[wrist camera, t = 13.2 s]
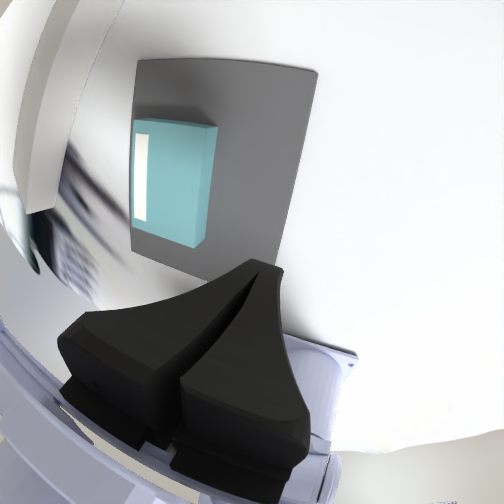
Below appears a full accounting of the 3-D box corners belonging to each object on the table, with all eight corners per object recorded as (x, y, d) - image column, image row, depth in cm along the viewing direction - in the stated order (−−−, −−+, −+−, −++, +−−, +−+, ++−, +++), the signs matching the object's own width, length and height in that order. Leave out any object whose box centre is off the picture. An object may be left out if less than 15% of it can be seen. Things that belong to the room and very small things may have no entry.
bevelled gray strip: (40, 163, 31) (58, 206, 29) (12, 168, 27) (26, 214, 25) (135, -64, 12) (179, -68, 10) (102, -74, 8) (139, -86, 6)
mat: (266, 298, 24) (264, 301, 24) (134, 249, 27) (131, 251, 27) (318, 73, 15) (317, 73, 14) (141, 60, 18) (137, 60, 17)
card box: (193, 249, 21) (131, 227, 22) (204, 238, 23) (144, 218, 24) (205, 128, 17) (132, 120, 18) (218, 126, 18) (148, 117, 19)
